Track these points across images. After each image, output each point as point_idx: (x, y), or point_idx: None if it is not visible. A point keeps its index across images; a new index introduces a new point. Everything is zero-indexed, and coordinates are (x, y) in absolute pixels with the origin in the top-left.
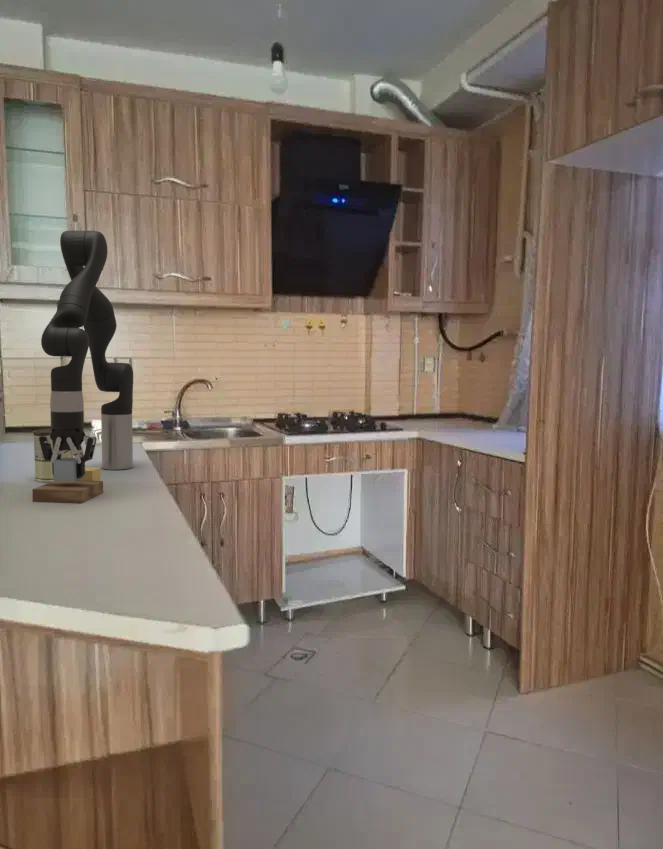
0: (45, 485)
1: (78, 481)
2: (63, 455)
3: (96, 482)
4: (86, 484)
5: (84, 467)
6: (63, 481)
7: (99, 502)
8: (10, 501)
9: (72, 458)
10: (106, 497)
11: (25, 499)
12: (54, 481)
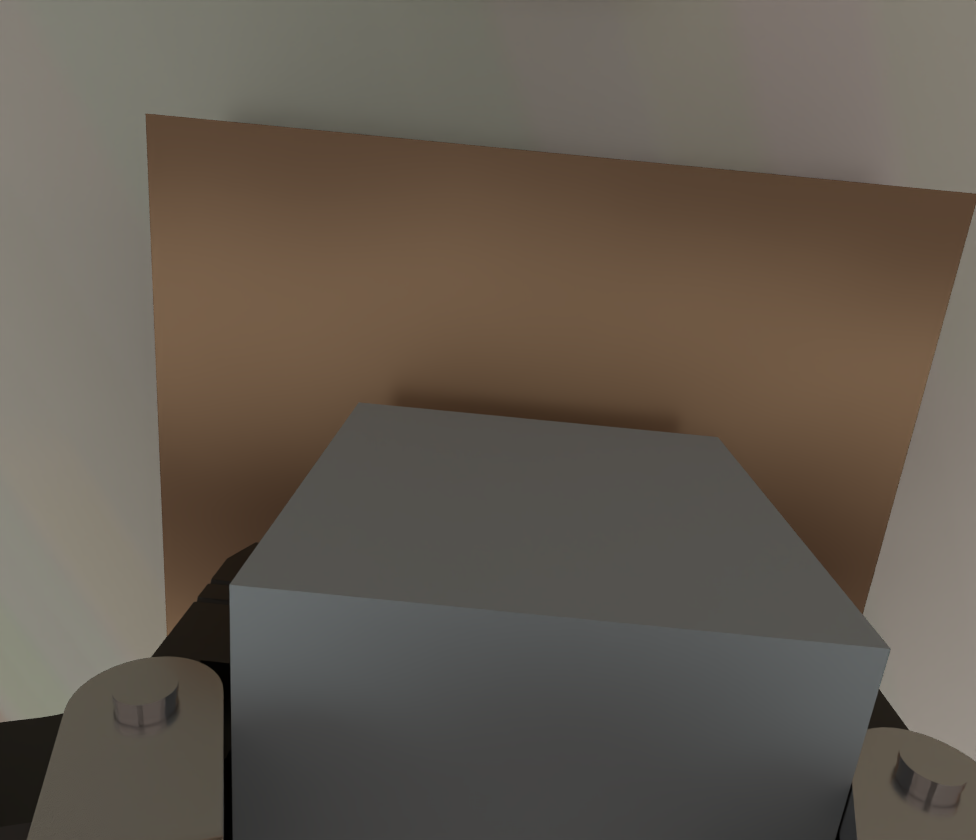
0: (208, 581)
1: (562, 256)
2: None
3: (886, 322)
4: (762, 479)
5: (875, 705)
6: (317, 274)
7: (931, 693)
8: (9, 686)
9: (582, 732)
10: (971, 467)
11: (100, 601)
12: (177, 289)
